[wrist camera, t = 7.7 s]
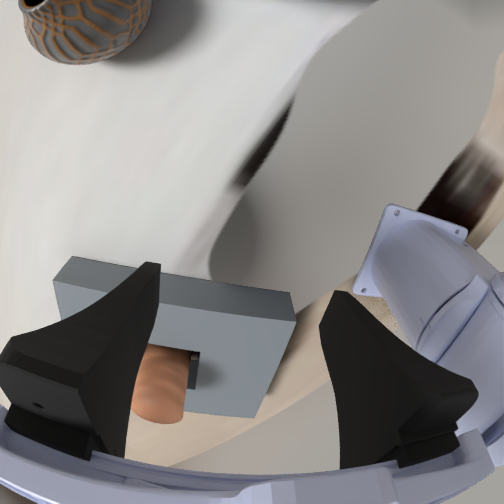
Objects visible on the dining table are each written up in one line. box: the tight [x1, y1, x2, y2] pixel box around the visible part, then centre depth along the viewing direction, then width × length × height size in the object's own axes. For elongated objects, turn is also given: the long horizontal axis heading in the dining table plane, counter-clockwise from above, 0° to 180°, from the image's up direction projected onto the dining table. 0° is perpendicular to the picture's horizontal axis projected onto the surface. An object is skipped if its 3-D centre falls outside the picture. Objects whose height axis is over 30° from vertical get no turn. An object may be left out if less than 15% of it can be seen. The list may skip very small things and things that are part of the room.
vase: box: [18, 0, 152, 65], centre depth 9 cm, size 7×7×9 cm
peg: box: [131, 343, 192, 424], centre depth 22 cm, size 4×4×8 cm
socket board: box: [53, 256, 297, 418], centre depth 24 cm, size 18×14×4 cm
